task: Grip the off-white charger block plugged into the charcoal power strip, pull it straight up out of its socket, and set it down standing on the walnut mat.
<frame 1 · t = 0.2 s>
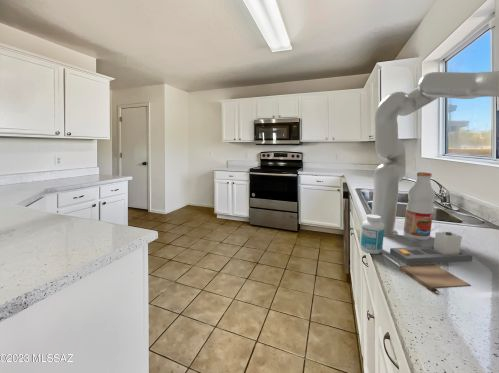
fruit juice: (415, 238, 105), on the table
pill bottle: (370, 251, 92), on the table
power strip: (429, 259, 85), on the table
charger: (445, 256, 86), point 1 cm above the table, touching power strip
walnut mat: (432, 278, 74), on the table
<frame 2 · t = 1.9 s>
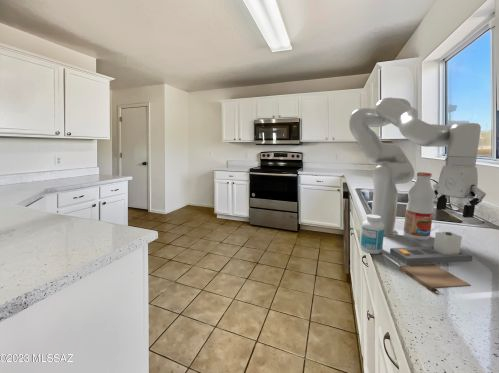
hand: (453, 213, 83), 17 cm above the table, tool pointing down, fingers open, 9 cm apart
nothing on the table moved.
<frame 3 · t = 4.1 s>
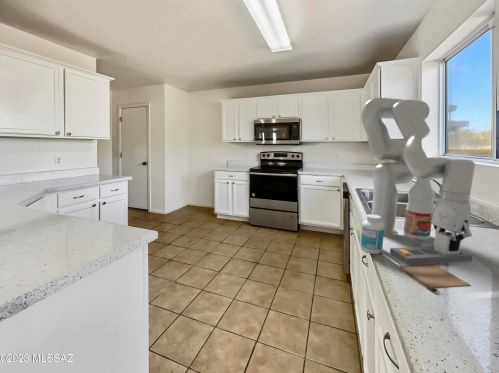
hand: (446, 247, 85), 4 cm above the table, tool pointing down, fingers closed on charger, 4 cm apart
charger: (445, 256, 86), point 1 cm above the table, touching gripper, power strip
everything else where it was.
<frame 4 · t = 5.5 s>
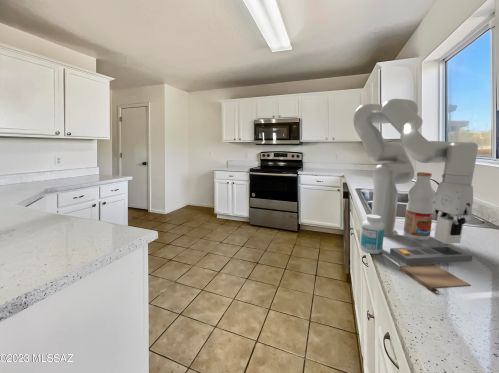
hand: (448, 231, 85), 10 cm above the table, tool pointing down, fingers closed on charger, 4 cm apart
charger: (446, 240, 85), point 7 cm above the table, touching gripper
everything else where it was.
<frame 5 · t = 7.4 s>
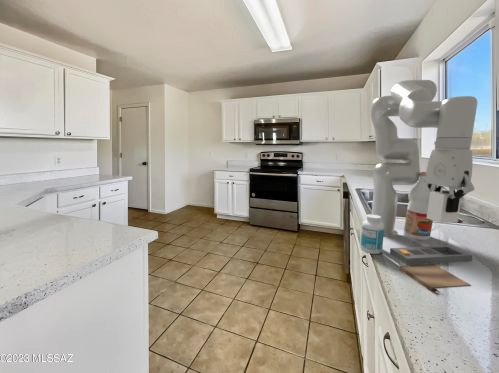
hand: (443, 209, 70), 21 cm above the table, tool pointing down, fingers closed on charger, 4 cm apart
fruit juice: (415, 237, 105), on the table, touching arm
charger: (441, 220, 70), point 18 cm above the table, touching gripper
everything else where it was.
when the fingers open (6 cm above the table, at t = 10.1 s): charger drops 1 cm, resting on walnut mat.
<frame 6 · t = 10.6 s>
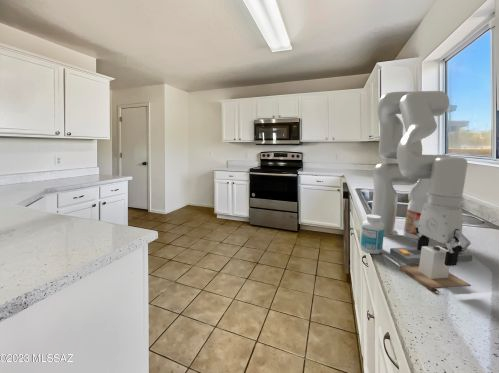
hand: (435, 257, 72), 7 cm above the table, tool pointing down, fingers open, 9 cm apart
charger: (432, 274, 74), point 1 cm above the table, touching walnut mat
everything else where it was.
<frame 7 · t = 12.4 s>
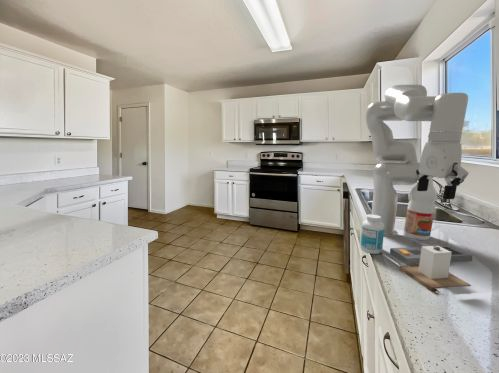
hand: (434, 194, 75), 24 cm above the table, tool pointing down, fingers open, 9 cm apart
fruit juice: (415, 237, 105), on the table
everything else where it was.
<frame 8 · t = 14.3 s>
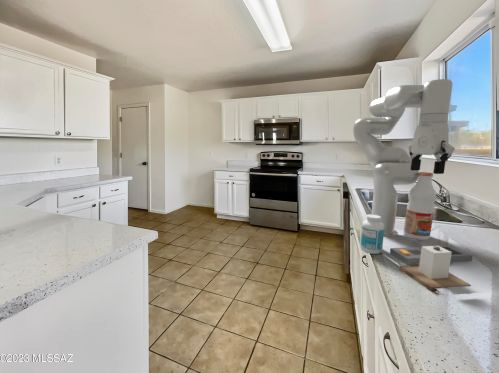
hand: (426, 171, 84), 30 cm above the table, tool pointing down, fingers open, 9 cm apart
fruit juice: (415, 237, 105), on the table, touching arm
everything else where it was.
at the end: charger inside the target area on the walnut mat (0.2 cm from its centre), point 1.2 cm above the walnut mat's base; charger tilted 0°; the gripper is holding nothing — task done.
